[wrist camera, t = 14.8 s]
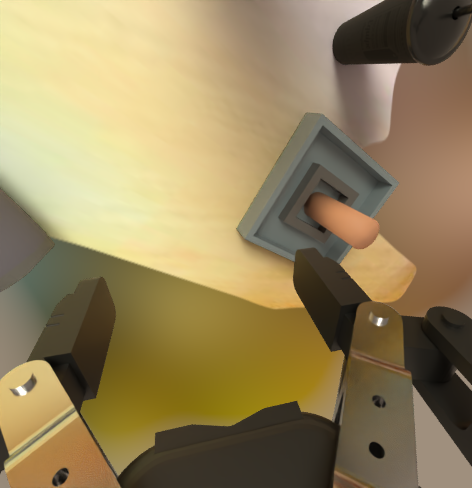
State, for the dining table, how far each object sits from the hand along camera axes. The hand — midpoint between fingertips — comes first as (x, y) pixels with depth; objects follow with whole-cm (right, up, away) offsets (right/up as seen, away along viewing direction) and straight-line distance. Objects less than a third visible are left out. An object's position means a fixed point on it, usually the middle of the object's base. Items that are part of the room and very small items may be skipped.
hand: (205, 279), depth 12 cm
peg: (+15, +8, +34) cm, 38 cm away
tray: (+14, +9, +35) cm, 39 cm away
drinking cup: (+16, +29, +26) cm, 42 cm away
